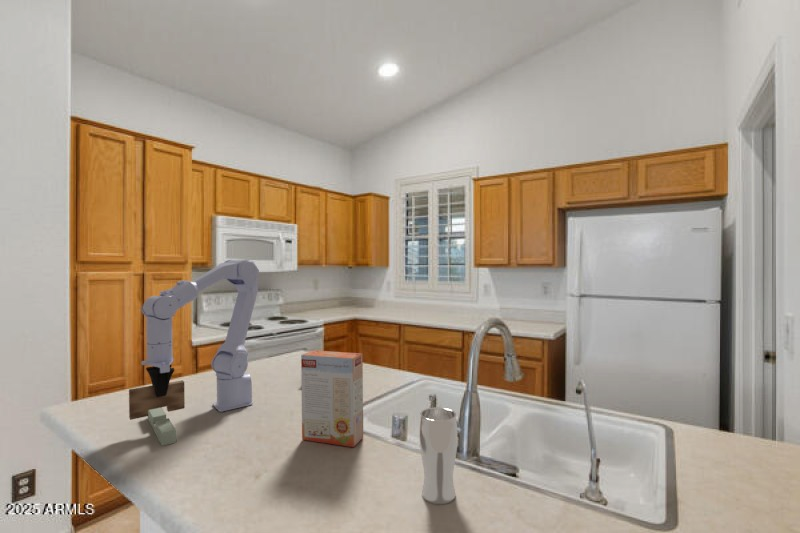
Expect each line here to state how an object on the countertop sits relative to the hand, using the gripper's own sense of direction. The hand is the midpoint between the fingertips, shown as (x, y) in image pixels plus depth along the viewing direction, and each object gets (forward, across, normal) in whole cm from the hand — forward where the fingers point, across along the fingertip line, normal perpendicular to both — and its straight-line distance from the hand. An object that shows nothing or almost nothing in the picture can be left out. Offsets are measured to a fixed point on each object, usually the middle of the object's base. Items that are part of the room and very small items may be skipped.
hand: (160, 394), depth 103 cm
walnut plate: (+4, 0, -1) cm, 5 cm away
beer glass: (+9, +67, +34) cm, 76 cm away
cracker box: (+9, +34, +31) cm, 47 cm away
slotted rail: (+9, 0, 0) cm, 9 cm away
